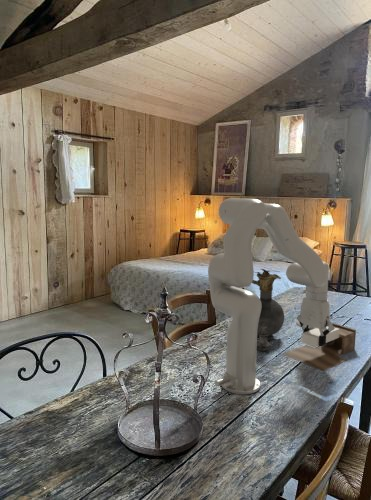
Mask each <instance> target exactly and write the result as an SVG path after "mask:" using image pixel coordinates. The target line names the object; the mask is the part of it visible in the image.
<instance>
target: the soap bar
mask: <svg viewBox="0 0 371 500" xmlns="http://www.w3.org/2000/svg"><path fill="white" fill-rule="evenodd" d="M326 328H327V329H328V327H326ZM334 328H335V327H334ZM323 332H324V331H323ZM320 335H321V334H320V331H319V329H318V328H315V329H310V330H309V331H307V332H304V333H303V332H302V333H301V338H300V339H301V343H302V344H305V345H308V346H311V347H313V348H316V347H319V336H320ZM337 338H339V329H338V328H335V329H334V330H332V331H331V332H330V333H328V334H327V335H326V343H327V342H330V341H332V340H335V339H337Z"/></svg>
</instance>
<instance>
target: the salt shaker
mask: <svg viewBox="0 0 371 500" xmlns="http://www.w3.org/2000/svg"><path fill="white" fill-rule="evenodd" d="M267 336H268V334H267V326H266V325H264V323H263V325H261V326H260V333H259V339H258V340H257V349H258V350H257V351H262V352H266V351H268V350H269V349H270V348H271V347H270V346H271V345H272V343H270V342H269V340H267Z"/></svg>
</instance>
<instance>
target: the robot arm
mask: <svg viewBox="0 0 371 500" xmlns="http://www.w3.org/2000/svg"><path fill="white" fill-rule="evenodd" d="M218 216H219V219H220V220H221V221H222V222H223V223H224V224H226V225H229V227H228V228H227V230H226V231H225V234H224V237H223V242H222V243H223V253H222V252H220V253H217V254H215V255H214V256H213V257H212V258H211V260H210V261H209V264H208V270H207V275H208V284H209V293H210V299H211V303H212V306H213V308H214V309H215V310H216V311H217V312H219V313H222V314H223V315H226V316H228V317H231V321H230V322H229V323H230V324H229V325H228V327H227V331H226V360H225V361H226V362H225V363H226V364H225V372H223V376H222V377H221V378H219V379H216V380H215V381H214V385H215V387H217V388H218V387H222V388H223V389H224V390H225V391H227V392H229V393H232V394H235V395H236V394H237V395H251V394H254V393H257V392H258V391H259V390H260V389H261V381H260V380H259V379H258V378H256V376H257V375H256V374H257V353H258V352H257V351H258V350H257V349H258V348H257V341H258V339H257V329H258V322H259V317H260V313H261V308H262V305H261V301H260V296H258V295H257V294H256V293H254V292H253V291H250V290H247V289H245V288H247V287H250V285H251V284H253V283H252V281H253V280H254V275H255V274H254V263H253V262H254V261H253V252H252V251H253V250H252V240H253V237H254V236H255V233H256V231H257V230H258V229H259V230H260V229H261V230H264V231H265V233H266V234H267V237H268V238H269V240H270V242H271V243H272V246H273V247H274V249H275V251H276V252H277V253H279V254H281V255H282V256H283V257H285V258H286V259H288V260H291V261H293V263H291V264H290V265H288V266H287V268H286V272H285V275H286V278H287V280H288V281H290V282H291V283H293V284H296V285H300V286H305V289H303V293H304V296H303V298H302V300H301V301H302V302H301V305H300V306H301V307H300V314H298V315H297V317H296V320H297V321H299V322H300V325H301V326H302V327H301V329H302V331H303V332H302V333H304V332H307V331H309V330H311V329H309V326H312V327H315V328H318V329H319V331H320V334H321V335H320V336H319V346H323V345H325V343H326V335H327V334H328V333H330V332H331V331H332V330H334V329H335V328H334V326H333V325H332V323H333V322H332V321H331V314H330V313H331V310H330V309H331V308H330V302H329V300H328V290H329V274H330V273H329V270H330V268H329V267H330V266H329V263H327V262H326V261H323V259H322V257H321V256H320V255H319V254H318V253H317V252H316V251H315V250H314V249H313V248H312V247H311V246H309V245H308V244H307V243H306V242H305V241H304V240H302V239H301V238H300V237H299V235H298V233H297V231H296V230H295V228H294V225H293V223H292V221H291V219H290V217H289V215H288V212H287V211H286V210H285V208H284V207H283V206H282V205H279V204H276V203H265V202H263V201H262V200H260V199H257V198H247V197H246V198H245V197H244V198H243V197H242V198H241V197H240V198H238V197H236V198H235V197H229V198H226V199H224V200H223V201H222V202H221V203H220V204H219V206H218ZM242 288H244V289H242ZM326 327H328V329H327V328H326ZM323 331H324V332H323ZM319 346H318V347H319Z"/></svg>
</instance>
